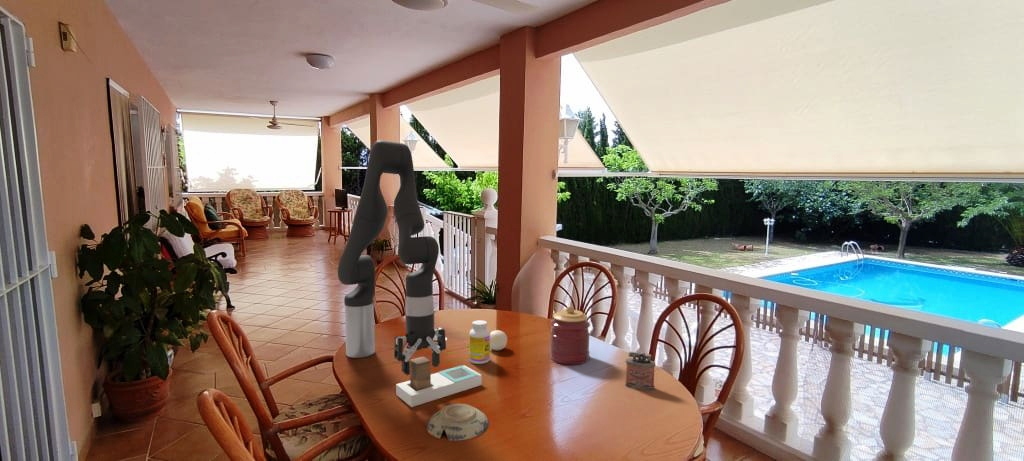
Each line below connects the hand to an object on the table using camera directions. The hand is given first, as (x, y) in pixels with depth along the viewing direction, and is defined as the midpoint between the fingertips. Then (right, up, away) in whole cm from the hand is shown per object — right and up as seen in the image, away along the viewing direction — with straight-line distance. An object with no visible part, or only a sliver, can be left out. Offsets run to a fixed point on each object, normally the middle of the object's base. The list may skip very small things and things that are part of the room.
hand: (421, 370), depth 129 cm
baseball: (+19, -4, +37) cm, 42 cm away
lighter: (+61, -7, +7) cm, 62 cm away
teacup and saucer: (-1, -3, +48) cm, 48 cm away
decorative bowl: (+11, -9, -14) cm, 20 cm away
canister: (+43, -5, +29) cm, 53 cm away
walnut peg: (0, -7, +1) cm, 7 cm away
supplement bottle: (+14, -5, +26) cm, 30 cm away
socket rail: (+4, -7, +5) cm, 9 cm away
